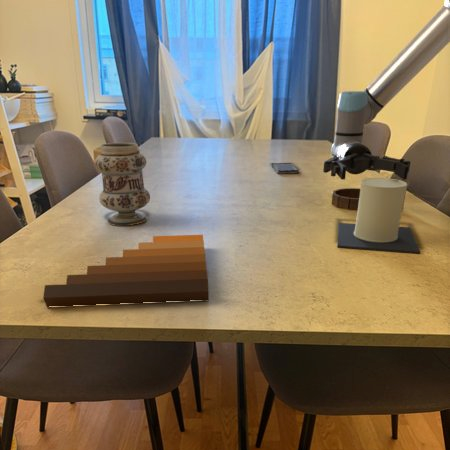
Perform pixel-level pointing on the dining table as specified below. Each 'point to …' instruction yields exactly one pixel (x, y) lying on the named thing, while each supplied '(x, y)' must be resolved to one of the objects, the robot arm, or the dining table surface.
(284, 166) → the phone
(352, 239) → the mat
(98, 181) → the dining table surface
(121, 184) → the apothecary jar
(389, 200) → the can
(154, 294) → the pan flute
